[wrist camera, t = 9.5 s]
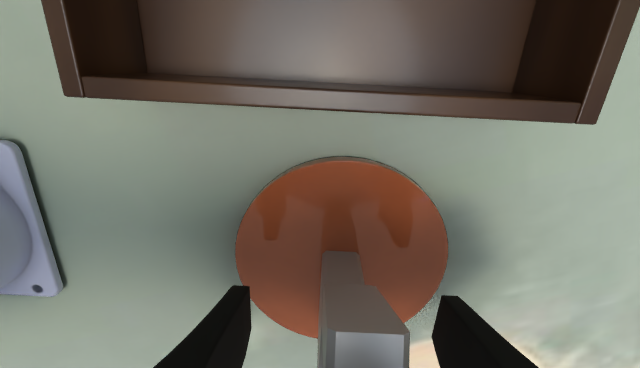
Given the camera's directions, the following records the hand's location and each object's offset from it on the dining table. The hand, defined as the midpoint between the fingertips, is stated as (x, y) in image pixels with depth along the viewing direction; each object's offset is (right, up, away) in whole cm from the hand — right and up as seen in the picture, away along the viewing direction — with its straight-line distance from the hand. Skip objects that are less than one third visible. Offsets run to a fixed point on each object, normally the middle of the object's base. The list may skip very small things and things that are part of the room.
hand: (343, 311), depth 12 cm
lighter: (0, +1, +3) cm, 3 cm away
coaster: (0, +1, +4) cm, 4 cm away
